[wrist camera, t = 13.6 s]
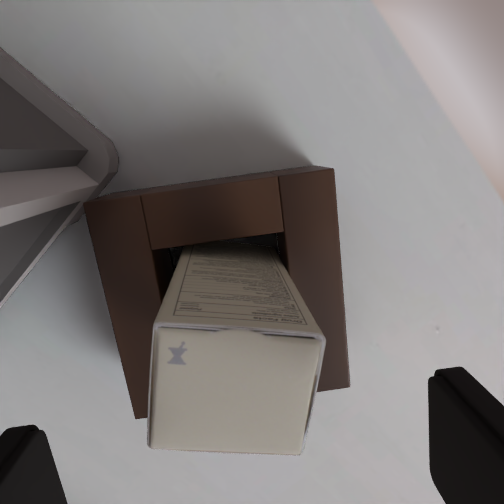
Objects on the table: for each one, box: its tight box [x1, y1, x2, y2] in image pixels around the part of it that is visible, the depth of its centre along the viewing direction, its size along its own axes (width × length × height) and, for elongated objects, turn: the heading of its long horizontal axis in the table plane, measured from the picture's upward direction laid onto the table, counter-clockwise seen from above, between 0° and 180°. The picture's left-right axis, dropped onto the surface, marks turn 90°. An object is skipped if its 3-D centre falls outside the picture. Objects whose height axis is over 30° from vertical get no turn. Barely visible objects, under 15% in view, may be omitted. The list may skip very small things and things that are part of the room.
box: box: [147, 241, 326, 456], centre depth 17 cm, size 5×4×11 cm
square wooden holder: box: [83, 165, 350, 419], centre depth 20 cm, size 11×11×4 cm
